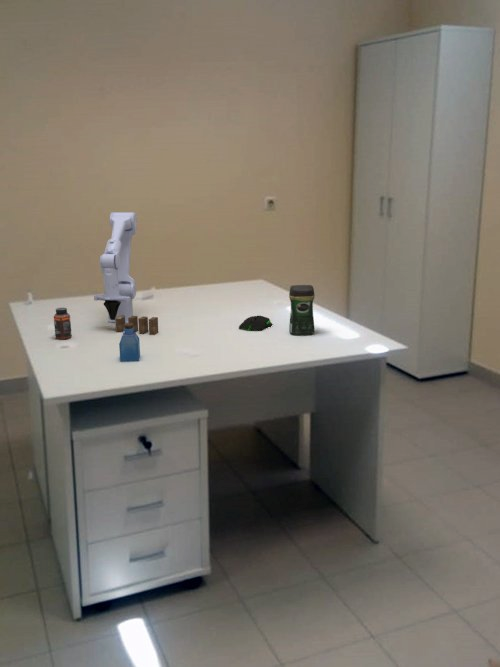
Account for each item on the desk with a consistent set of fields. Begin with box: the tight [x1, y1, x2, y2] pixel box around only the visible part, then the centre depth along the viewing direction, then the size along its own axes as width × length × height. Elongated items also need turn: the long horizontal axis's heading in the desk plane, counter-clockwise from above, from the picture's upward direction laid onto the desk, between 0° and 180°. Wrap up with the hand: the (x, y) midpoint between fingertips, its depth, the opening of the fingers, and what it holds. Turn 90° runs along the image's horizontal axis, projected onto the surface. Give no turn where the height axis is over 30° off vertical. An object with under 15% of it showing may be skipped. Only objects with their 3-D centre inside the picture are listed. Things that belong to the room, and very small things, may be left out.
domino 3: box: [148, 316, 159, 336], centre depth 273 cm, size 2×4×6 cm, turn 163°
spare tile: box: [114, 315, 126, 333], centre depth 277 cm, size 2×4×6 cm, turn 162°
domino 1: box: [128, 315, 139, 333], centre depth 275 cm, size 2×4×6 cm, turn 163°
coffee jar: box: [288, 284, 316, 336], centre depth 270 cm, size 10×8×19 cm
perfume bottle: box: [118, 323, 141, 363], centre depth 241 cm, size 6×6×12 cm
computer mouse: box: [238, 315, 274, 332], centre depth 283 cm, size 11×16×4 cm
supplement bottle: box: [53, 307, 72, 341], centre depth 267 cm, size 6×6×11 cm
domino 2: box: [138, 315, 149, 335], centre depth 274 cm, size 2×4×6 cm, turn 163°
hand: (113, 319), depth 277 cm, fingers closed
